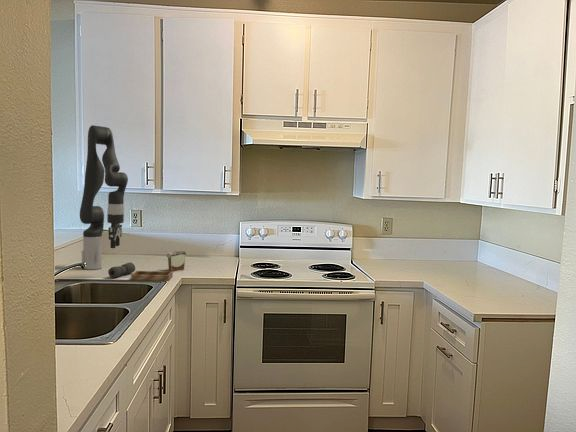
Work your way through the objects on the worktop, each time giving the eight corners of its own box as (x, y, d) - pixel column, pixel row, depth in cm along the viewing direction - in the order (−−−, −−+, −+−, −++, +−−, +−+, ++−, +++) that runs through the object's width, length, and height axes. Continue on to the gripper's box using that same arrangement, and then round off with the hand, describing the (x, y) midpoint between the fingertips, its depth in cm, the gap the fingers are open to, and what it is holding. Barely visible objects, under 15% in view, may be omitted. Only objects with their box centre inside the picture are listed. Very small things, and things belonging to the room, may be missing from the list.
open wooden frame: (131, 280, 228) (131, 274, 228) (136, 275, 238) (136, 270, 238) (169, 280, 229) (169, 275, 229) (172, 276, 239) (172, 271, 239)
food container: (177, 267, 262) (178, 250, 261) (186, 269, 259) (186, 251, 258) (161, 271, 251) (161, 252, 251) (169, 272, 248) (170, 254, 247)
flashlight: (117, 268, 228) (107, 265, 230) (115, 279, 229) (106, 276, 230) (136, 263, 243) (127, 260, 244) (134, 273, 243) (126, 270, 245)
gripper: (112, 211, 237) (111, 244, 238) (103, 214, 222) (102, 249, 224) (127, 212, 237) (126, 245, 239) (119, 214, 223) (118, 249, 224)
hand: (115, 246), depth 231 cm, fingers open, 6 cm apart
